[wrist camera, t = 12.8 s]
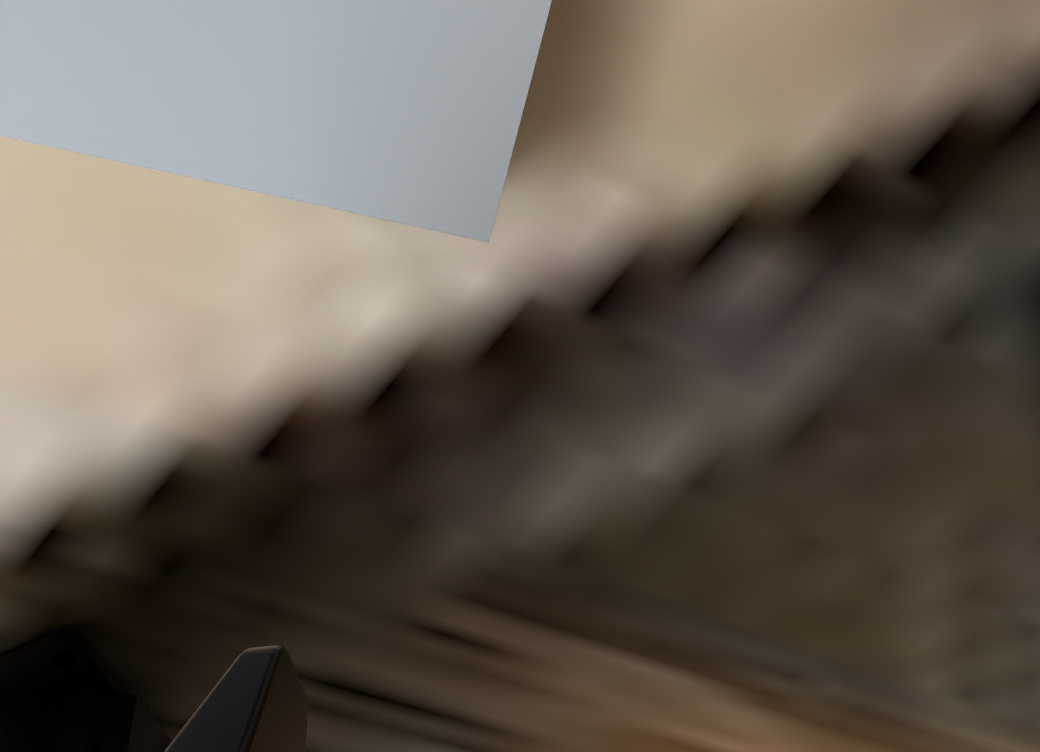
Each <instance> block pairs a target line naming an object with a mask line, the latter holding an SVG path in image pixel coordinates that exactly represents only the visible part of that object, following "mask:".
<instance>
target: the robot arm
mask: <svg viewBox="0 0 1040 752" xmlns="http://www.w3.org/2000/svg"><path fill="white" fill-rule="evenodd" d="M64 649H65V650H70V651H72V652H73V653H75V655H74V656H71V657H63V656H60V655H59V654H58V653H57V651H59V650H64ZM306 730H307V700H306V695H305V692H304V689H303V687H302V684H301V682H300V679H299V677H298V674H297V672H296V669H295V667H294V664H293V662H292V659H291V657H290V654H289V653H288V651H287V649H286V648H285V647H283V646H282V645H271V646H262V647H253V648H249V649H246V650H245V651H243V652H242V653H241V654H240V655H239V656H238V657H237V658H236V660H235V661H234V662H233V664H232V665H231V666H230V667H229V669H228V670H227V671H226V673H225V674H224V675H223V677H222V678H221V679H220V680H219V682H218V683H217V684H216V686H215V687H214V688H213V689H212V691H211V692H210V693H209V695H208V696H207V697H206V698H205V700H204V701H203V702H202V704H201V705H200V706H199V708H198V709H197V710H196V711H195V713H194V714H193V715H192V717H191V718H190V719H189V720H188V722H187V723H186V724H185V726H184V727H183V728H182V730H181V731H180V732H179V733H178V735H177V736H176V737H175V739H174V740H173V741H171V740H170V738H169V737H168V735H167V734H166V733H165V731H164V730H163V728H162V727H161V726H160V724H159V723H158V721H157V720H156V719H155V717H154V716H153V714H152V713H151V712H150V710H149V709H148V707H147V706H146V705H145V703H144V702H143V700H142V699H141V698H140V696H139V695H137V694H134V693H132V692H130V691H125V689H124V688H123V686H122V685H121V684H120V682H119V681H118V680H117V678H116V677H115V675H114V674H113V673H112V671H111V670H110V668H109V667H108V666H107V664H106V663H105V662H104V660H103V659H102V657H101V656H100V655H99V653H98V652H97V650H96V649H95V648H94V646H93V645H92V644H91V642H90V641H89V639H88V638H87V637H85V636H84V635H83V634H82V633H79V632H77V631H74V630H63V631H59V632H56V633H53V634H51V635H49V636H47V637H44V638H42V639H40V640H38V641H35V642H33V643H31V644H29V645H26V646H24V647H22V648H20V649H17V650H15V651H13V652H10V653H8V654H6V655H4V656H1V657H0V752H305V746H306Z"/></svg>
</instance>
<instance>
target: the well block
mask: <svg viewBox="0 0 1040 752" xmlns="http://www.w3.org/2000/svg"><path fill="white" fill-rule="evenodd" d="M551 2H552V0H0V136H3V137H8V138H12V139H17V140H21V141H26V142H31V143H35V144H40V145H44V146H49V147H53V148H58V149H63V150H67V151H72V152H76V153H81V154H85V155H90V156H95V157H99V158H104V159H108V160H113V161H118V162H122V163H127V164H131V165H136V166H140V167H145V168H150V169H154V170H159V171H163V172H168V173H172V174H177V175H182V176H186V177H191V178H195V179H200V180H205V181H209V182H214V183H218V184H223V185H227V186H232V187H237V188H241V189H246V190H250V191H255V192H259V193H264V194H269V195H273V196H278V197H282V198H287V199H292V200H296V201H301V202H305V203H310V204H314V205H319V206H324V207H328V208H333V209H337V210H342V211H346V212H351V213H356V214H360V215H365V216H369V217H374V218H379V219H383V220H388V221H392V222H397V223H401V224H406V225H411V226H415V227H420V228H424V229H429V230H434V231H438V232H443V233H447V234H452V235H456V236H461V237H466V238H470V239H475V240H479V241H484V242H488V243H489V240H490V236H491V233H492V229H493V225H494V221H495V217H496V213H497V210H498V206H499V202H500V198H501V194H502V190H503V186H504V183H505V179H506V175H507V171H508V167H509V163H510V160H511V156H512V152H513V148H514V144H515V140H516V137H517V133H518V129H519V125H520V121H521V117H522V113H523V110H524V106H525V102H526V98H527V94H528V90H529V87H530V83H531V79H532V75H533V71H534V67H535V63H536V60H537V56H538V52H539V48H540V44H541V40H542V37H543V33H544V29H545V25H546V21H547V17H548V14H549V10H550V6H551Z"/></svg>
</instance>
